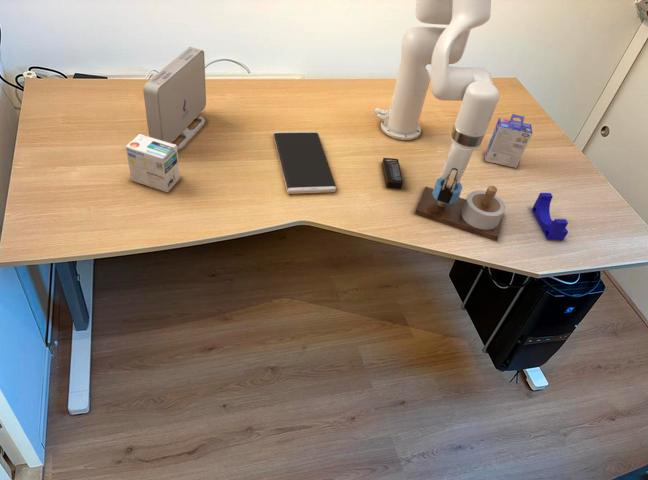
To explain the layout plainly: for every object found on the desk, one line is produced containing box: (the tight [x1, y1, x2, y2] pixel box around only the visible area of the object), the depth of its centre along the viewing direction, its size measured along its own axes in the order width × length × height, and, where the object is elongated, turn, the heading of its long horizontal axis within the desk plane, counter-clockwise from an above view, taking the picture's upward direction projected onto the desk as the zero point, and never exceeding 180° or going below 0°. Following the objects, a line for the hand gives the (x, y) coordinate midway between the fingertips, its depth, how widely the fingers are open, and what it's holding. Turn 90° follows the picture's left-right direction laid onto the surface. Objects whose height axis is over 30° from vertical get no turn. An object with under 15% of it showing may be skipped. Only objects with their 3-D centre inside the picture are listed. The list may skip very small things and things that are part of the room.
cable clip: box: [531, 192, 569, 241], centre depth 146 cm, size 12×4×6 cm, turn 5°
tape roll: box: [432, 177, 463, 204], centre depth 142 cm, size 7×7×4 cm
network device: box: [142, 46, 207, 151], centre depth 150 cm, size 26×9×20 cm, turn 161°
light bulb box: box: [125, 133, 181, 193], centre depth 138 cm, size 11×7×11 cm, turn 71°
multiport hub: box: [381, 157, 404, 190], centre depth 154 cm, size 4×11×2 cm, turn 2°
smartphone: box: [273, 131, 337, 195], centre depth 153 cm, size 13×27×2 cm, turn 11°
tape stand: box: [414, 175, 506, 241], centre depth 142 cm, size 22×11×11 cm, turn 69°
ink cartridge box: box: [484, 113, 533, 169], centre depth 161 cm, size 10×6×14 cm, turn 78°
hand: (446, 192), depth 143 cm, fingers closed on tape roll, 6 cm apart
